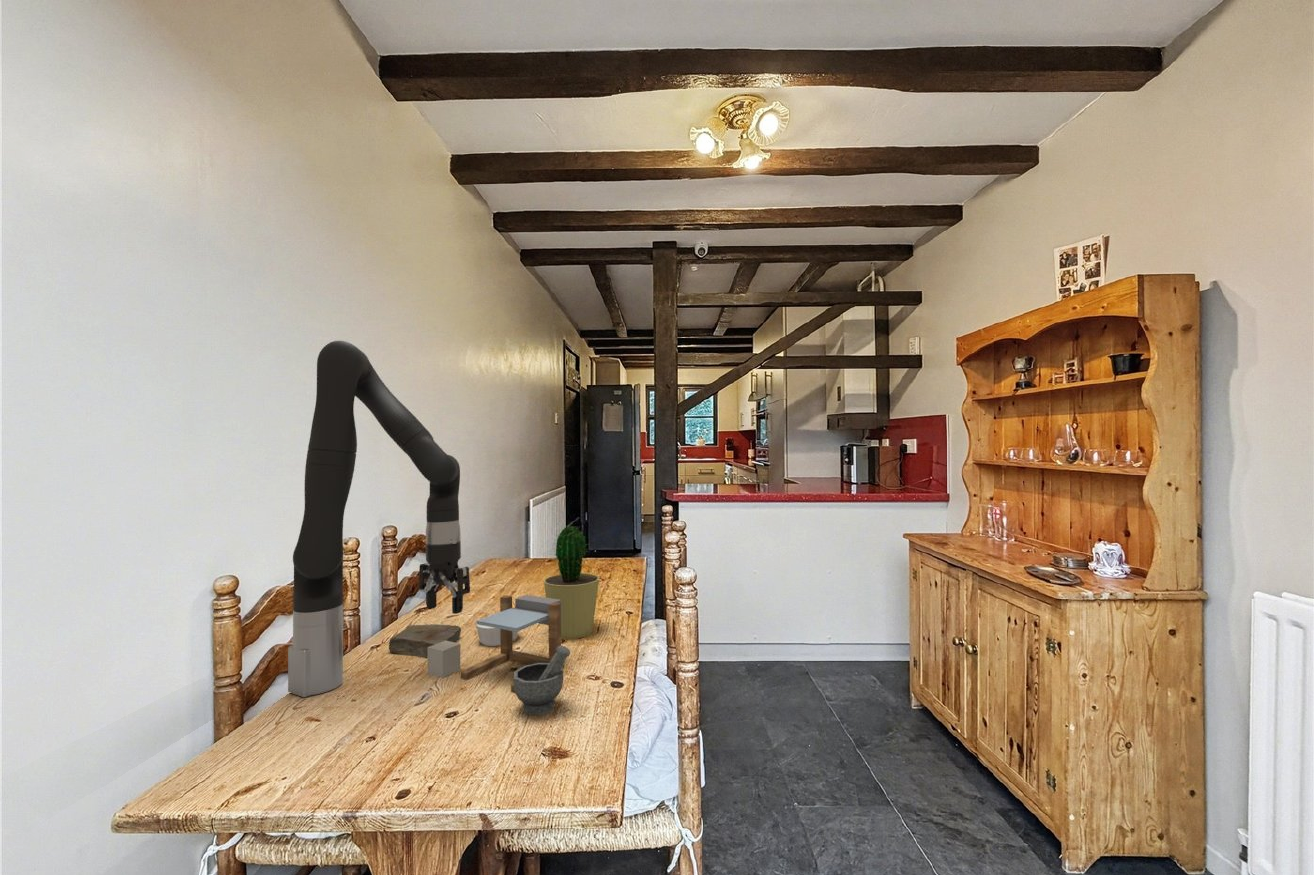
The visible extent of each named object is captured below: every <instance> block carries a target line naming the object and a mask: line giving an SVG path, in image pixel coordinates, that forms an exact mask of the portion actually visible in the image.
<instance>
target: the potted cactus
mask: <svg viewBox="0 0 1314 875" xmlns="http://www.w3.org/2000/svg"><path fill="white" fill-rule="evenodd" d="M556 534H557V535H556ZM556 534H555V536H556V537H557V539H556V540H555V542H556V543H553V544H554V546H555V548H553V549H554V551H553V552H554V555H553V556H552V558H553V557H554V558H553V561H558V562H557V566H558V568H557V571H556V572H558V574H554V575H550V576H548V577H545V578H544V579H543V584H544V586H543V587H544V593H545V598H552V599H559V600H561V611H562V621H561V640H574V639H581V638H585V637H587V636H589V635H590V634H592V633H593V630H594V623H595V622H594V621H595V614H596V607H597V598H598V590H599V585H600V584H599V583H600V576H599V575H597V574H593V573H587V572H582V569H583V562H584V559H583V558H585V556H586V552H587V548H586V547H587V545H589V544H588V543H587V544H586V539H585V538H586V536H584V535H583V534H584V532H583V531H581V530H580V527H579V526H575V525H574V526H573V525H571V526H564V527H563V528H562V529H561V532H560V531H559V533H558V532H556Z"/></svg>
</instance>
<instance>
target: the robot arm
mask: <svg viewBox="0 0 1314 875" xmlns="http://www.w3.org/2000/svg"><path fill="white" fill-rule="evenodd" d="M355 397H356V398H357V399H358V400H359V401H360V402H362V403H363V405H365V407H366V408H367V409H368V410H369V412H371V414H372V415H373V416H374V418H375V419H376V421H377V422H378V423H379V425H380V426H381V427H382V429H383V430H384V432H385V433H386V435H388V437H389V438H391V440H392V441H394V443H395V444H396V445H397V446H398V447H399V448H400V450H402V451H403V452H404V453H405V454H406V455H407V456H408V457H409V458H410V460H411V462H412V463H413V464H414V466H415V467H416V469H417V470H418V472H419V473H420V474H421V476H423V478H425V479H426V480H427V481H428V482H429V496H428V498H427V501H426V527H425V561H426V562H424V563H422V564H419V569H418V570H419V571H418V572H419V573H418V588H419V590H423V592H424V594H425V604H426V608H427V609H426V610H432V609H436V608H437V589H438V587H439V585H441V586H444V587H445V588H446V589H447V590H448V591H449V592H450V593H451V595H452V598H451V602H452V603H451V606H452V607H451V609H452V610H451V611H452V614H455V615H457V614H460V613H462V612H463V609H464V602H463V601H464V598H463V597H464V595H466V594H469V593H470V592H471V584H470V583H471V582H470V580H471V579H470V568H469V567H468V566H464V567H460V566H459V560H461V557H462V555H461V554H462V553H461V552H462V551H461V550H462V548H461V546H462V545H461V540H462V538H461V537H462V536H461V525H460V507H459V506H460V505H459V504H460V503H459V491H460V481H461V468H460V467H461V466H460V463H459V461H458V459H456V458H455V456H453V455H450V454H447V453H446V452H445V451H444V450H443V448H441V446H439V444H438V443H436V441H435V440H434V436H433V435H432V434H431V433H430V431H429V430H428V429H427V428H426V427H425V426H424V425H423V424H422V422H421V421H420V420H419V419H418V418H417V416H415V415H414V414H413V413H412V412H411V411H410V410H409V409H408V408H407V407H406V405H404V403H402V402H401V401H400V400H399V399H398V398H397V397H396V396H395V395H394V393H392V391H390V389H389V388H388V387H387V386H386V384H385V383H384V381H383V380H382V379H381V377H380V376H379V374H378V373H377V372H376V369H375V368H374V367H373V365H372V363H371V362H370V359H369V357H368V355H366V353H364V351H362V350H361V349H360V348H358V347H357V346H356V345H354V344H352V343H350V342H348V341H345V340H334V341H331V342H329V343H327V344H325V345H324V346H323V347H322V348H321V350H320V352H319V354H318V357H317V360H316V396H315V407H314V411H313V417H312V422H311V427H310V428H311V429H310V435H309V441H308V446H307V453H306V459H305V468H304V470H305V471H304V511H303V517H302V521H301V527H300V531H299V533H298V534H299V535H298V539H297V543H296V545H295V548H294V551H293V554H292V563H293V590H292V591H293V593H292V594H293V595H292V645H289V646H288V648H287V653H288V654H287V655H288V657H287V668H288V669H287V670H288V671H287V675H288V676H287V692H288V693H290V694H293V695H297V696H299V697H301V698H306V697H310V696H313V695H319V694H324V693H326V692H327V693H328V692H329V691H333V690H335V689H337V688H338V687H340V686H341V685H342V684H343V682H344V676H343V675H344V575H343V573H344V572H343V571H344V569H343V568H344V564H343V563H344V561H343V560H344V545H343V544H344V543H343V542H344V541H343V539H344V534H343V533H344V532H343V530H344V515H345V509H346V506H347V503H348V499H349V495H350V491H351V487H352V482H353V477H354V473H355V467H356V458H357V450H358V440H357V439H358V438H357V429H356V421H355V420H356V419H355V414H354V413H355V412H354V411H355V410H354V408H355V407H354V406H355Z"/></svg>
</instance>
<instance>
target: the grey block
mask: <svg viewBox="0 0 1314 875" xmlns="http://www.w3.org/2000/svg"><path fill="white" fill-rule="evenodd" d="M427 651H428V658H427V675H431V676H435V677H438V678H445V677H447V676H450V675H452V674H454V673H456V672H459V671H460V670H461V643H458V642H455V643H454V642H450V641H443V642H440V643H438V644H435V645H432V646H430V647H427Z"/></svg>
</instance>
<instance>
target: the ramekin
mask: <svg viewBox="0 0 1314 875" xmlns="http://www.w3.org/2000/svg"><path fill="white" fill-rule="evenodd" d="M475 628H476V629H477V635H478V639H479V642H480V644H482V645H483V646H486V647H501V642H500V629H499V628H494V627H488V626H483V625H478V624H477V623H476V624H475ZM518 633H519V631H518V632H515V631H512V636H513V642H514V641H516V639H517V637H518V635H519V634H518Z"/></svg>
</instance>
